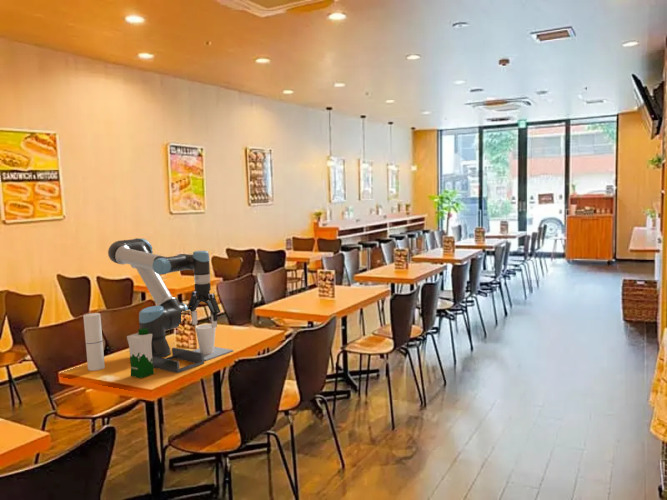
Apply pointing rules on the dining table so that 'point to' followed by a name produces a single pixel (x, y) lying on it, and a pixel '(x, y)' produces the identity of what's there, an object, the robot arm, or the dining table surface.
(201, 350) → the foam cup
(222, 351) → the mat
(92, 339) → the cylindrical container
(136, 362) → the milk carton
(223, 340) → the dining table surface
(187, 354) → the cup stand
